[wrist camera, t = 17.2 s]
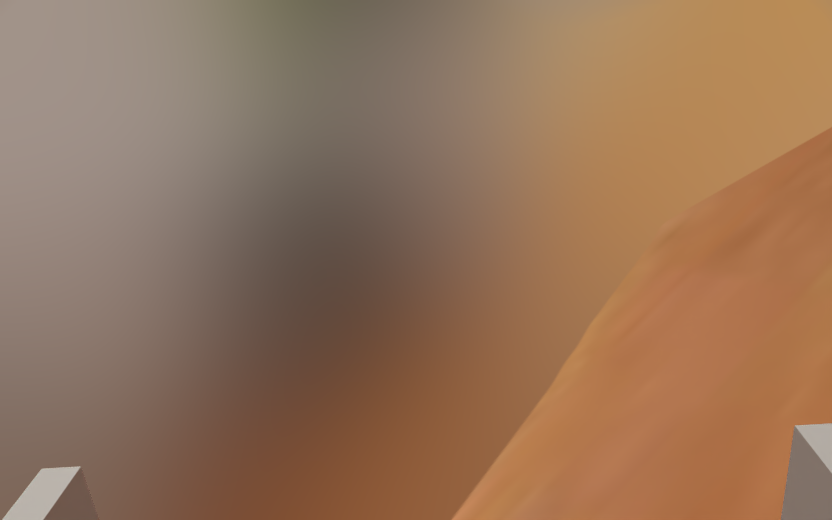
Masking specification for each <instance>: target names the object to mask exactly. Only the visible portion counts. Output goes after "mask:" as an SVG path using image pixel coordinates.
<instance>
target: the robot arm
mask: <svg viewBox="0 0 832 520" xmlns="http://www.w3.org/2000/svg"><path fill="white" fill-rule="evenodd" d="M2 520H99V518H98V515H97V512H96V509H95V506H94V503H93V500H92V497H91V494H90V492H89V489H88V486H87V483H86V480H85V477H84V474H83V471H82V468H81V467H64V468H47V469H41V471H40V472H39V473H38V474H37V476H36V477H35V478H34V480H33V481H32V482H31V483H30V485H29V486H28V487H27V488H26V490H25V491H24V492H23V494H22V495H21V496H20V497H19V499H18V500H17V501H16V503H15V504H14V505H13V506H12V508H11V509H10V510H9V512H8V513H7V514H6V515H5V517H4V518H3V519H2ZM781 520H832V423H831V424H814V425H796V426H795V427H794V434H793V440H792V447H791V454H790V461H789V468H788V475H787V482H786V489H785V495H784V502H783V509H782V516H781Z"/></svg>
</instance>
